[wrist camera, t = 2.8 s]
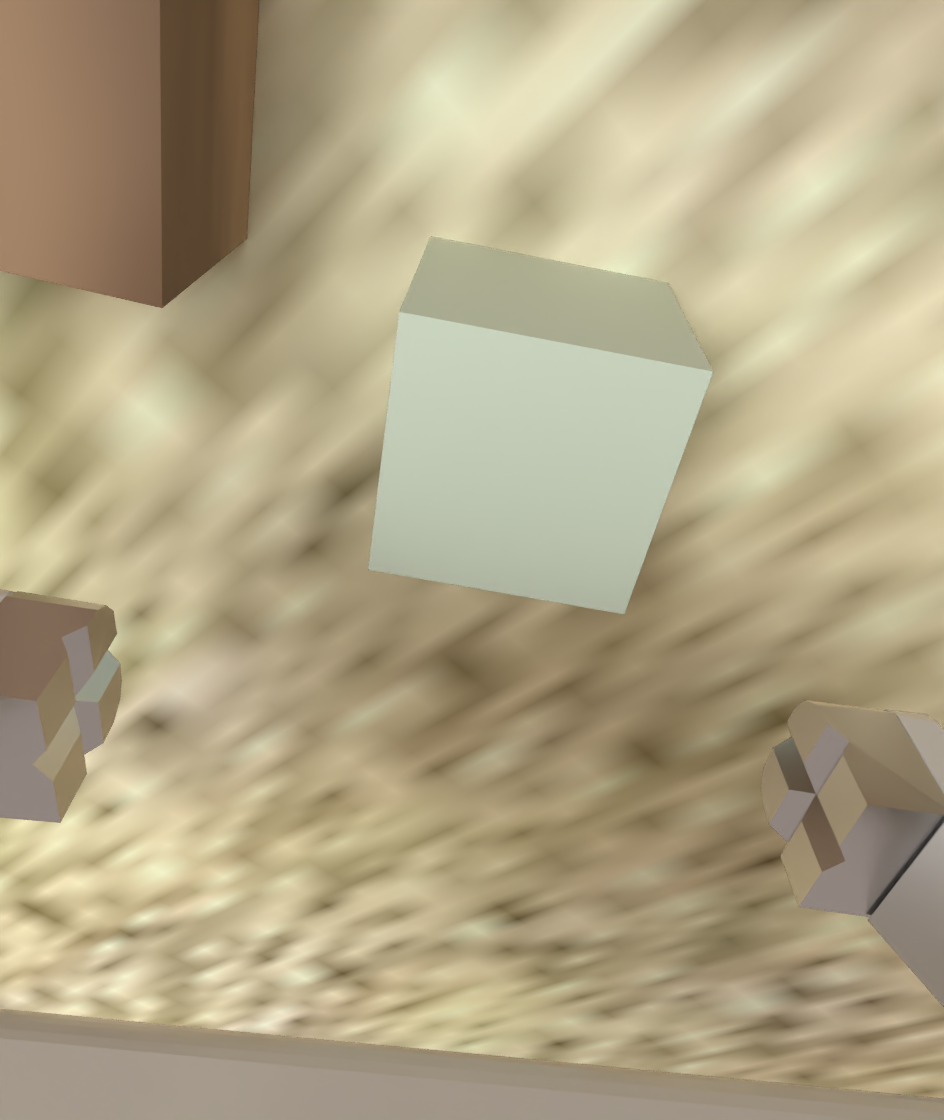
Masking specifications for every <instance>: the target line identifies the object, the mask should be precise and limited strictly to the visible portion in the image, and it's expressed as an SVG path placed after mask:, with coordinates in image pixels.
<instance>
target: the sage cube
mask: <svg viewBox="0 0 944 1120" xmlns="http://www.w3.org/2000/svg"><path fill="white" fill-rule="evenodd" d="M712 374H713V370H712V368H711V366H710V364H709V362H708V360H707V358H706V357H705V355H704V353H703V351H702V349H701V347H700V345H699V343H698V341H697V339H696V337H695V335H694V333H693V331H692V329H691V327H690V325H689V323H688V321H687V319H686V317H685V315H684V313H683V312H682V310H681V308H680V306H679V304H678V302H677V300H676V298H675V296H674V294H673V292H672V290H671V288H670V286H669V284H668V283H667V282H662V281H657V280H652V279H647V278H641V277H636V276H631V275H626V274H621V273H616V272H611V271H606V270H601V269H596V268H591V267H585V266H580V265H575V264H570V263H565V262H560V261H555V260H550V259H545V258H540V257H535V256H529V255H524V254H519V253H514V252H509V251H504V250H499V249H494V248H489V247H484V246H479V245H473V244H468V243H463V242H458V241H453V240H448V239H443V238H438V237H433V236H431V237H430V239H429V242H428V244H427V247H426V249H425V251H424V254H423V256H422V259H421V261H420V263H419V266H418V268H417V271H416V273H415V275H414V278H413V280H412V282H411V285H410V287H409V290H408V292H407V294H406V297H405V299H404V302H403V304H402V306H401V309H400V311H399V318H398V326H397V335H396V343H395V351H394V359H393V368H392V376H391V384H390V392H389V401H388V409H387V417H386V426H385V434H384V442H383V450H382V459H381V467H380V475H379V483H378V492H377V500H376V508H375V516H374V525H373V533H372V541H371V550H370V558H369V566H368V570H372V571H378V572H383V573H389V574H395V575H401V576H406V577H412V578H418V579H424V580H429V581H435V582H441V583H447V584H453V585H458V586H464V587H470V588H476V589H481V590H487V591H493V592H499V593H504V594H510V595H516V596H522V597H527V598H533V599H539V600H545V601H551V602H556V603H562V604H568V605H574V606H579V607H585V608H591V609H597V610H602V611H608V612H614V613H620V614H624V613H625V610H626V608H627V605H628V602H629V600H630V597H631V594H632V591H633V589H634V586H635V583H636V581H637V578H638V575H639V572H640V570H641V567H642V564H643V561H644V559H645V556H646V553H647V551H648V548H649V545H650V542H651V540H652V537H653V534H654V532H655V529H656V526H657V523H658V521H659V518H660V515H661V513H662V510H663V507H664V504H665V502H666V499H667V496H668V493H669V491H670V488H671V485H672V483H673V480H674V477H675V474H676V472H677V469H678V466H679V464H680V461H681V458H682V455H683V453H684V450H685V447H686V444H687V442H688V439H689V436H690V434H691V431H692V428H693V425H694V423H695V420H696V417H697V415H698V412H699V409H700V406H701V404H702V401H703V398H704V395H705V393H706V390H707V387H708V385H709V382H710V379H711V376H712Z"/></svg>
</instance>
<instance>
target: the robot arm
mask: <svg viewBox="0 0 944 1120" xmlns="http://www.w3.org/2000/svg"><path fill="white" fill-rule="evenodd" d="M116 635H117V631H116V624H115V618H114V611H113V610H112V609H110V608H109V607H108V606H106V605H101V604H95V603H89V602H82V601H76V600H70V599H63V598H57V597H51V596H44V595H38V594H32V593H25V592H19V591H17V592H13V591H8V590H1V589H0V818H12V819H23V820H35V821H46V822H58V823H61V821H62V819H63V817H64V815H65V813H66V811H67V810H68V808H69V806H70V804H71V802H72V800H73V799H74V797H75V795H76V793H77V791H78V789H79V787H80V786H81V784H82V782H83V780H84V778H85V776H86V775H87V771H86V764H85V758H84V754H86V753H88V752H89V751H91V750H93V749H94V748H96V747H98V746H99V745H101V744H103V743H104V741H105V739H106V737H107V735H108V733H109V731H110V729H111V727H112V725H113V723H114V719H115V716H116V712H117V709H118V705H119V702H120V697H121V684H122V676H121V665H120V663H119V661H118V660H117V659H116V658H115V657H114V656H113V655H112V654H111V653H110V652H109V651H108V648H109V646H110V645H111V643H112V641H113V640H114V638H115V636H116ZM787 725H788V728H789V730H790V733H791V736H792V737H791V738H789V739H787V740H786V741H784V742H782V743H781V744H779V745H777V746H776V747H774V748H773V749H772V751H771V753H770V755H769V757H768V759H767V761H766V763H765V766H764V768H763V776H762V784H761V794H762V802H763V808H764V811H765V814H766V817H767V820H768V823H769V825H770V826H771V827H772V828H773V829H774V830H775V831H777V832H778V833H779V834H780V835H781V836H782V837H783V838H784V839H785V840H786V841H787V843H786V845H785V847H784V850H783V852H782V854H781V856H780V857H781V859H782V862H783V865H784V868H785V871H786V873H787V876H788V879H789V882H790V884H791V887H792V890H793V893H794V895H795V898H796V901H797V904H798V906H799V907H803V908H810V909H817V910H824V911H831V912H838V913H845V914H852V915H859V916H866V917H870V918H869V919H868V921H869V922H870V923H871V925H872V926H873V927H874V928H875V929H876V930H877V931H878V933H879V934H880V935H881V936H882V937H883V938H884V939H885V941H886V942H887V943H888V944H889V945H890V946H891V947H892V949H893V950H894V951H895V952H896V953H897V954H898V955H899V957H900V958H901V959H902V960H903V961H904V962H905V963H906V965H907V966H908V967H909V968H910V969H911V970H912V971H913V973H914V974H915V975H916V976H917V977H918V978H919V980H920V981H921V982H922V983H923V984H924V985H925V986H926V988H927V989H928V990H929V991H930V992H931V993H932V994H933V996H934V997H935V998H936V999H937V1000H938V1001H939V1002H940V1004H941V1005H942V1006H943V1007H944V731H943V729H942V728H941V726H940V725H939V723H938V722H937V721H935V720H934V719H933V718H931V717H930V716H928V715H927V714H920V713H912V712H903V711H894V710H879V709H871V708H864V707H856V706H848V705H840V704H832V703H825V702H817V701H809V700H804V701H803V702H802V703H801V704H799V705H798V706H797V707H795V709H794V711H793V712H792V714H791V716H790V718H789V720H788V721H787ZM0 1120H944V1099H943V1098H933V1097H922V1096H912V1095H901V1094H891V1093H880V1092H870V1091H859V1090H849V1089H839V1088H828V1087H818V1086H807V1085H797V1084H786V1083H776V1082H765V1081H755V1080H745V1079H734V1078H724V1077H713V1076H703V1075H692V1074H682V1073H671V1072H661V1071H651V1070H640V1069H630V1068H619V1067H609V1066H598V1065H588V1064H577V1063H567V1062H556V1061H546V1060H536V1059H525V1058H514V1057H504V1056H493V1055H482V1054H472V1053H461V1052H451V1051H440V1050H429V1049H419V1048H408V1047H398V1046H387V1045H376V1044H366V1043H355V1042H345V1041H334V1040H323V1039H313V1038H302V1037H292V1036H281V1035H271V1034H260V1033H250V1032H239V1031H229V1030H218V1029H208V1028H197V1027H187V1026H176V1025H166V1024H155V1023H145V1022H134V1021H124V1020H113V1019H103V1018H93V1017H82V1016H72V1015H61V1014H51V1013H40V1012H30V1011H19V1010H9V1009H0Z"/></svg>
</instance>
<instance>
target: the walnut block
mask: <svg viewBox="0 0 944 1120" xmlns="http://www.w3.org/2000/svg"><path fill="white" fill-rule="evenodd" d="M258 16H259V0H0V271H4V272H8V273H13V274H17V275H21V276H26V277H30V278H34V279H39V280H43V281H47V282H52V283H56V284H60V285H65V286H69V287H73V288H78V289H82V290H86V291H91V292H95V293H99V294H104V295H108V296H112V297H117V298H121V299H125V300H130V301H134V302H138V303H143V304H147V305H151V306H156V307H160V308H163V307H164V306H165V305H166V304H168V303H169V302H170V301H171V300H173V299H174V298H175V297H176V296H177V295H179V294H180V293H181V292H182V291H184V290H185V289H186V288H187V287H188V286H190V285H191V284H192V283H193V282H194V281H196V280H197V279H198V278H199V277H201V276H202V275H203V274H204V273H205V272H207V271H208V270H209V269H210V268H212V267H213V266H214V265H215V264H216V263H218V262H219V261H220V260H221V259H223V258H224V257H225V256H226V255H227V254H229V253H230V252H231V251H232V250H234V249H235V248H236V247H237V246H238V245H240V244H241V243H242V242H243V241H244V240H246V239H247V229H248V209H249V190H250V171H251V151H252V132H253V113H254V93H255V74H256V54H257V35H258Z"/></svg>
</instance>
